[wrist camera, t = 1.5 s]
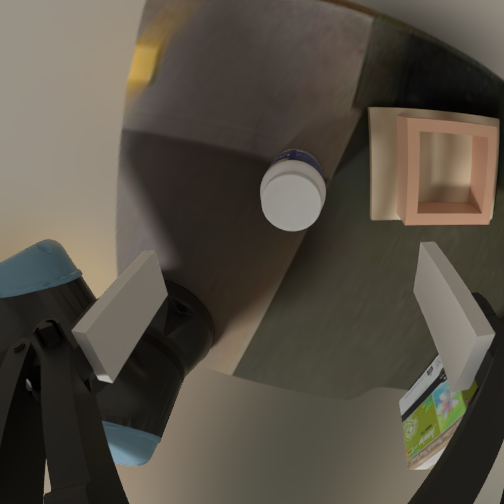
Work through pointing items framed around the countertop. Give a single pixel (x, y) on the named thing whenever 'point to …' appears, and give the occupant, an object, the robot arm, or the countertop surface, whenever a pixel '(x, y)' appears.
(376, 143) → the board
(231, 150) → the countertop surface
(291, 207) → the pill bottle
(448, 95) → the countertop surface
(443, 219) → the well
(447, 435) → the tea box
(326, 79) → the countertop surface
